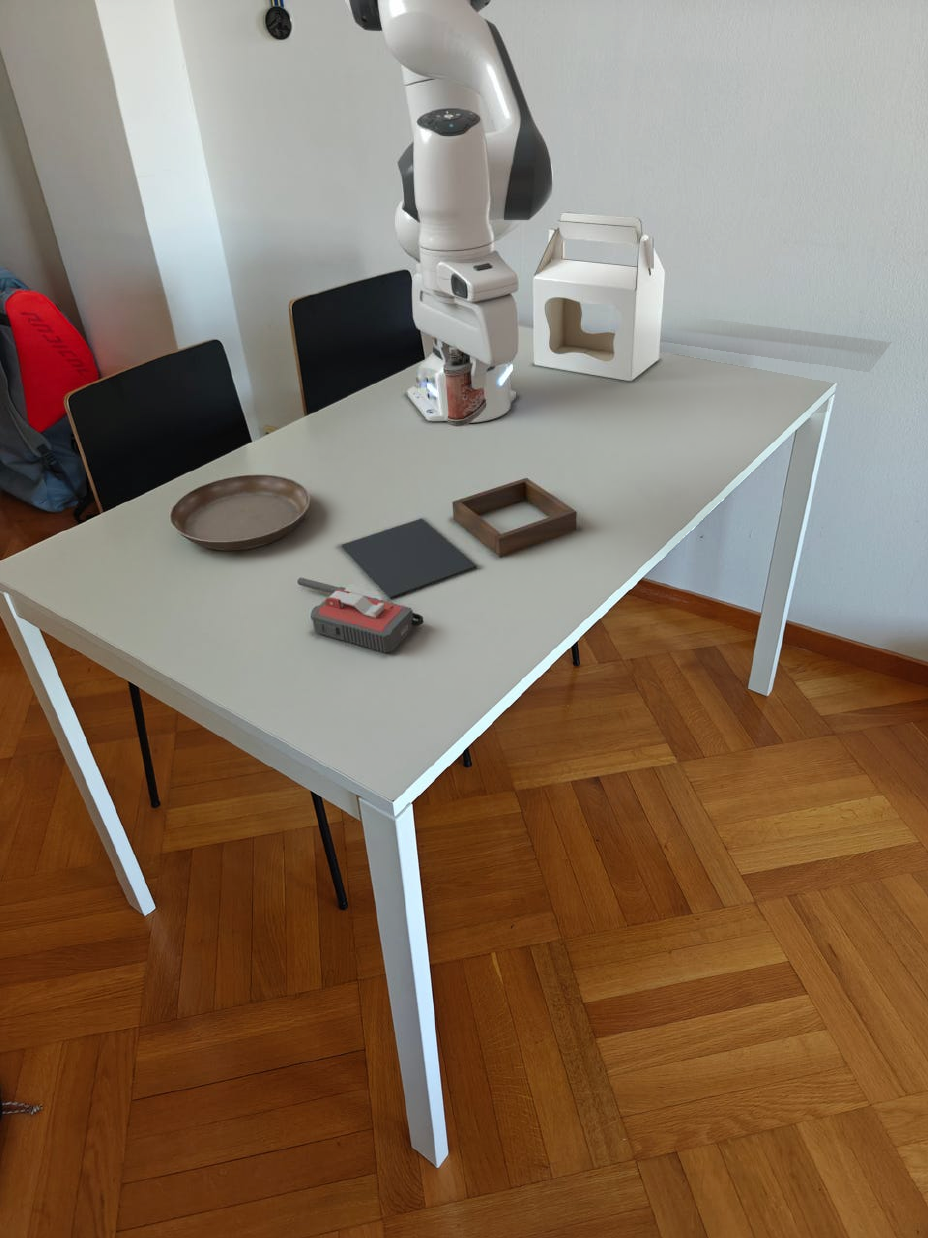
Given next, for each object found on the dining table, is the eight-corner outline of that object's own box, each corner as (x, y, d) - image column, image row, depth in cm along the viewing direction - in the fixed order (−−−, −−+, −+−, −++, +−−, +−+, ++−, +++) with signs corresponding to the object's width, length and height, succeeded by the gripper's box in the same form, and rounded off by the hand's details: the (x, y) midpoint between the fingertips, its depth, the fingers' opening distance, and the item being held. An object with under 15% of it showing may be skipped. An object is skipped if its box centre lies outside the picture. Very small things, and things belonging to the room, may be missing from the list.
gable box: (532, 364, 182) (530, 218, 165) (563, 345, 190) (564, 203, 174) (632, 382, 171) (640, 227, 155) (660, 360, 180) (671, 211, 163)
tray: (453, 519, 131) (452, 501, 130) (526, 495, 136) (526, 477, 135) (499, 557, 122) (498, 538, 120) (576, 529, 127) (577, 511, 125)
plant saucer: (335, 499, 139) (332, 480, 137) (271, 568, 123) (266, 548, 121) (222, 485, 145) (217, 467, 143) (146, 550, 129) (140, 530, 127)
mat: (341, 547, 127) (341, 544, 127) (421, 520, 132) (421, 518, 131) (390, 599, 115) (390, 596, 115) (476, 568, 120) (476, 565, 120)
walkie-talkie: (433, 619, 111) (304, 584, 119) (431, 590, 109) (299, 556, 117) (397, 659, 105) (264, 620, 113) (393, 629, 102) (257, 591, 110)
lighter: (465, 427, 113) (460, 350, 107) (441, 424, 114) (435, 347, 108) (491, 404, 118) (488, 329, 112) (469, 401, 120) (464, 327, 114)
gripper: (395, 256, 112) (405, 363, 120) (479, 290, 97) (485, 410, 105) (438, 247, 114) (446, 353, 122) (527, 279, 99) (529, 397, 107)
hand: (465, 380), depth 113 cm, fingers closed on lighter, 5 cm apart
